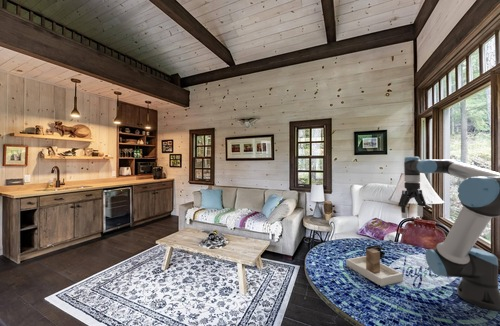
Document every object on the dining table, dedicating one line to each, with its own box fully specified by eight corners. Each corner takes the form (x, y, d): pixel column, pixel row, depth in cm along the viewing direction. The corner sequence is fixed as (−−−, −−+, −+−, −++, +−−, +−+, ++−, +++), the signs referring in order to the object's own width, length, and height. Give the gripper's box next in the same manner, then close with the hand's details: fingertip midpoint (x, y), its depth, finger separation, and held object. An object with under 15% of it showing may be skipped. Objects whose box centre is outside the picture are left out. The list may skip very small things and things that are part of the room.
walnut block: (379, 272, 123) (379, 251, 123) (373, 273, 121) (373, 252, 121) (372, 268, 128) (372, 248, 128) (366, 269, 126) (366, 249, 126)
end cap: (376, 252, 153) (376, 243, 153) (385, 256, 146) (385, 247, 146) (365, 255, 149) (365, 245, 149) (374, 259, 142) (374, 249, 142)
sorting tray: (402, 281, 116) (402, 273, 116) (381, 286, 110) (380, 278, 110) (366, 261, 138) (366, 255, 138) (346, 265, 133) (346, 259, 133)
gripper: (419, 181, 136) (419, 214, 136) (391, 182, 128) (391, 217, 128) (432, 182, 129) (433, 217, 129) (403, 183, 121) (403, 220, 121)
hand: (412, 217), depth 128 cm, fingers open, 13 cm apart
